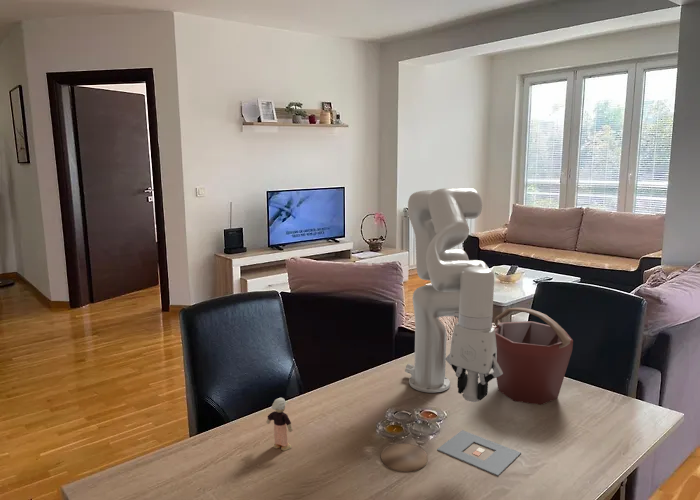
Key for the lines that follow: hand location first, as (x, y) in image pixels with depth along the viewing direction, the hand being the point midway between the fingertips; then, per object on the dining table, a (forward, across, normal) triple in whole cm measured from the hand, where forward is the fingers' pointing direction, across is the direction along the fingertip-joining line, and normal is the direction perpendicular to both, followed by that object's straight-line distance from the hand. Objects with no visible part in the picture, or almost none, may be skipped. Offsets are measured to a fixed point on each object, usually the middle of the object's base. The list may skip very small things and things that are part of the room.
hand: (472, 393), depth 127 cm
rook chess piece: (+1, 0, 0) cm, 1 cm away
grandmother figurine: (+15, -37, -28) cm, 49 cm away
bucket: (+16, -2, +42) cm, 44 cm away
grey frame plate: (+15, +2, +2) cm, 15 cm away
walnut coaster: (+15, -11, -12) cm, 22 cm away
